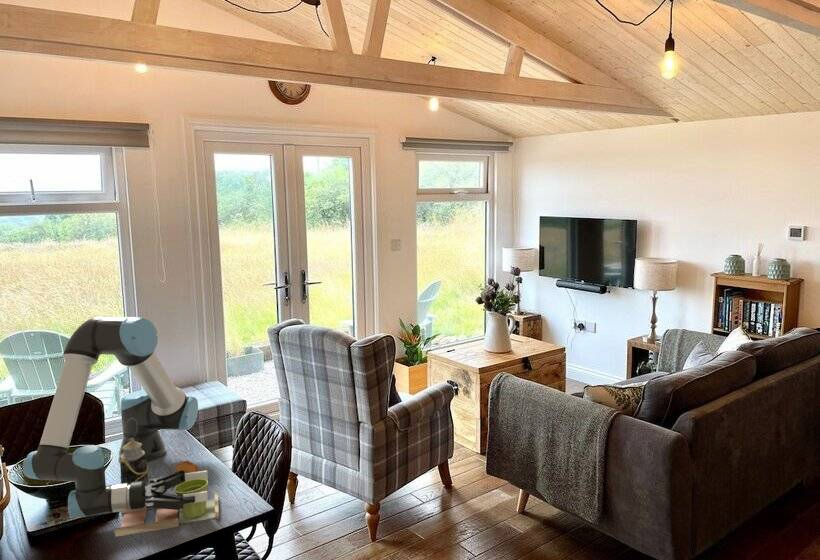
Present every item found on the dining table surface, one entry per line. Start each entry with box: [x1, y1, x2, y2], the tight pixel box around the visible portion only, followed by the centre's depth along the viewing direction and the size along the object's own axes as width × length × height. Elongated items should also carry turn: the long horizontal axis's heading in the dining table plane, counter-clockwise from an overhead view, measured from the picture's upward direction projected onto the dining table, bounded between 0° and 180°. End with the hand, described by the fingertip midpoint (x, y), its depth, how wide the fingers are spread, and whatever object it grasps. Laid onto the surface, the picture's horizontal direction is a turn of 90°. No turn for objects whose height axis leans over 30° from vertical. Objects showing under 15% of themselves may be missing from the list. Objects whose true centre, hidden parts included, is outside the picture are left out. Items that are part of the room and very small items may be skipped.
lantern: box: [118, 418, 150, 485], centre depth 193 cm, size 9×8×25 cm
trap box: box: [114, 492, 220, 538], centre depth 182 cm, size 14×28×2 cm, turn 108°
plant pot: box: [173, 479, 209, 518], centre depth 182 cm, size 9×9×9 cm
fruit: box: [173, 460, 199, 485], centre depth 200 cm, size 8×8×8 cm
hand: (207, 485), depth 185 cm, fingers open, 13 cm apart
